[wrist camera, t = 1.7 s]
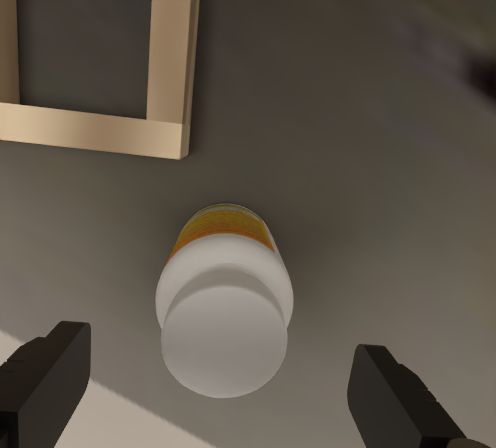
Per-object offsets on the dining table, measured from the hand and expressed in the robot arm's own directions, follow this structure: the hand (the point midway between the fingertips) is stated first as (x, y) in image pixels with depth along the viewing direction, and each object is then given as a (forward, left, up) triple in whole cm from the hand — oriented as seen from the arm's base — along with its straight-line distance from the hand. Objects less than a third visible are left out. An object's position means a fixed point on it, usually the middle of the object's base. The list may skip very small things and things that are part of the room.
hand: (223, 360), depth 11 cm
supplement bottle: (0, 0, -10) cm, 10 cm away
